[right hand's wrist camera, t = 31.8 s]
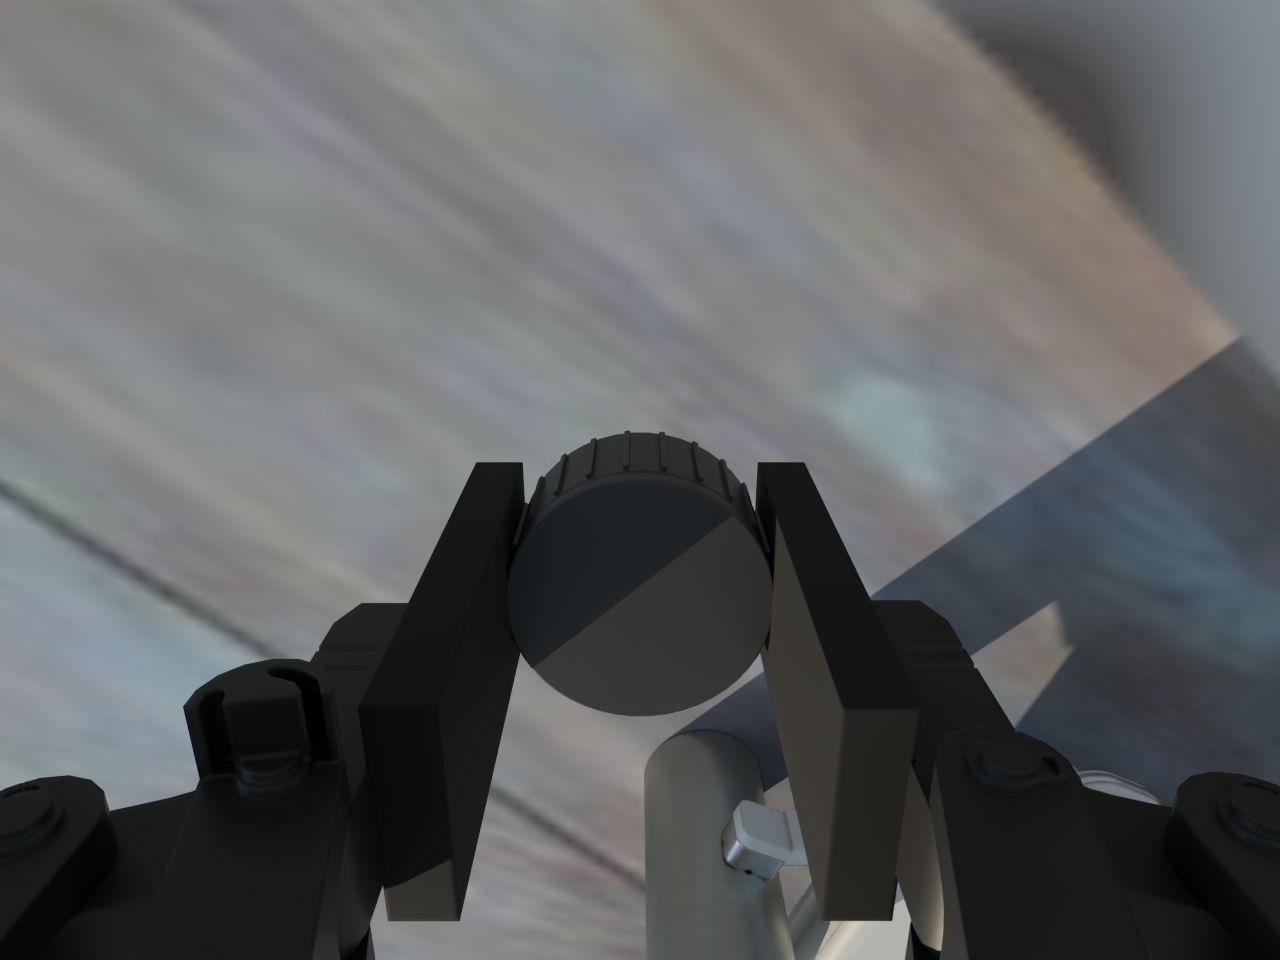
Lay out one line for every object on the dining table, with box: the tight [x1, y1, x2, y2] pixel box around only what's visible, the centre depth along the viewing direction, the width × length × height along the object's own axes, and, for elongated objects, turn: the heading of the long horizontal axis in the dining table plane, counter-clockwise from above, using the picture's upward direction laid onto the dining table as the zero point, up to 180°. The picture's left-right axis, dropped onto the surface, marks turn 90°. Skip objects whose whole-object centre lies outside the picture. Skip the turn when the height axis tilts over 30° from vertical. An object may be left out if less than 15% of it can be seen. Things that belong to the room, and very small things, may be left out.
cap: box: [507, 431, 774, 716], centre depth 14 cm, size 4×4×2 cm
